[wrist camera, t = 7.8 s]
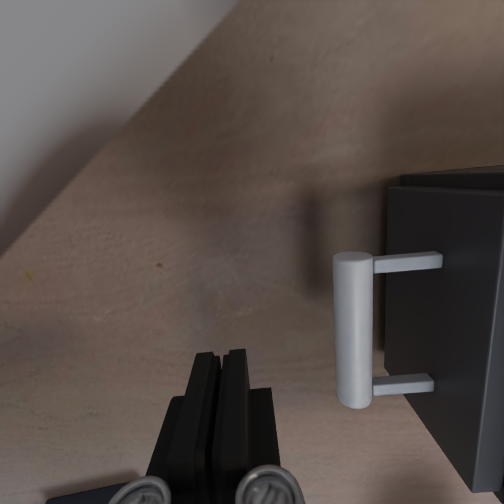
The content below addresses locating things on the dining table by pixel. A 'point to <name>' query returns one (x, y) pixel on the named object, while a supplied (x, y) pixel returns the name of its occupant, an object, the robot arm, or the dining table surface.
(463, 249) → the drawer
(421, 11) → the dining table surface
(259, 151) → the dining table surface
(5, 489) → the dining table surface
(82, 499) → the control block
